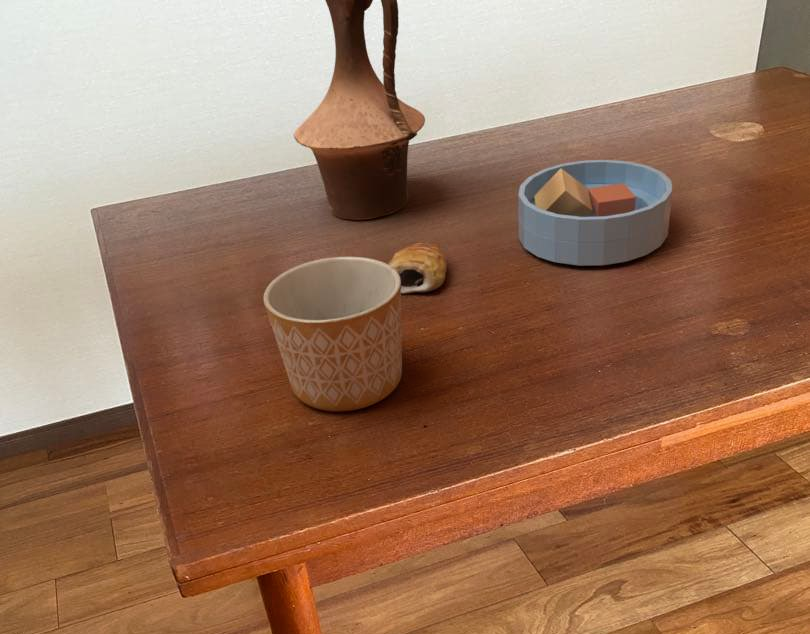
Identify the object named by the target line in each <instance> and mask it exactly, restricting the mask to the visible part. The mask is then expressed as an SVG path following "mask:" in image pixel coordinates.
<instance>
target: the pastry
mask: <svg viewBox="0 0 810 634" xmlns="http://www.w3.org/2000/svg"><path fill="white" fill-rule="evenodd" d="M387 264H388V265H390V266H391V267H392V268H394V269H395V270H396V271H397V273H398V274H399V276H400V279H401V295H407V294H413V293H428V292H431V291H436V290H437V289H438V288H439V287H441V286H442V285H443V284H444V282H445V279H446V272H447V268H448V266H447V265H448V264H447V259H446V257H445V254H444V253H443V250H442V249H441V248H440V247H439V245H436V244H430V243H426V242H416V243H414V244H412V245H410V246H406V247H404V248H403V249H400V250H399V251H396V252H395V253H394V255H393V257H392V259H390V260H389V261H388V263H387Z"/></svg>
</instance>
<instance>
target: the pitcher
mask: <svg viewBox="0 0 810 634" xmlns="http://www.w3.org/2000/svg"><path fill="white" fill-rule="evenodd" d="M324 1H325V4H326V5H327V8H328V11H329V14H330V18H331V19H330V20H331V23H332V29H333V34H334V35H333V36H334V44H335V45H334V46H335V58H334V59H335V61H334V68H333V73H332V76H331V77H332V78H331V80H330V84H329V87H328V89H327V92H326V94H325V96H324V98H322V101H321V102H320V104H319V105H318V106H317V107H316V109H314V111H313V112H312V113H311V114H310V115H309V116H308V117H307V118H306V119H305V120H304V121H303V122H302V124H300V125H299V126H298V127H297V128H296V130H295V131H294V134H293V137H294V140H295V141H296V143H298V144H299V145H301V146H303V147H305V148H308V149H310V150H311V151H312V153H313V156H314V158H315V161H316V163H317V167H318V170H319V173H320V178H321V179H322V182H323V186H324V190H325V193H326V197H327V202H328V207H329V211H330V213H331V214H332V215H334V216H335V217H337V218H340V219H346V220H355V221H356V220H357V221H358V220H369V219H376V218H378V217H383V216H387V215H391V214H393V213H396V212H397V211H399V210H401V209H403V208H404V207H405V206H406V205H407V203H408V201H409V194H408V155H409V154H408V152H409V144H410V141H411V140H413V139H414V138H415V137H416V136H418V132H419V131H420V130H421V129H422V128H423V127H424V125H425V123H426V118H425V117H426V116H425V115H424V114H423V113H422V112H421V111H420V110H419V109H416V108H415V107H412V106H410V105H409V104H407V103H405V102H404V101H402V99H399V98H398V95H397V91H396V79H395V78H396V75H395V74H396V73H395V67H396V58H397V53H396V50H397V43H398V35H399V21H400V20H399V19H400V18H399V3H398V0H380V2H381V8H382V23H383V24H382V25H383V28H382V30H383V38H382V45H383V49H382V54H383V55H382V69H383V70H382V74H383V76H382V79H383V82H382V81H381V80H380V78H379V77H378V75H377V73H376V72H375V69H374V67H373V66H372V63H371V61H370V57H369V55H368V54H369V53H368V49H367V44H366V43H367V42H366V36H365V35H366V34H365V14H366V11H367V10H368V9H370V7H372V3H373V1H374V0H324Z"/></svg>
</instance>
